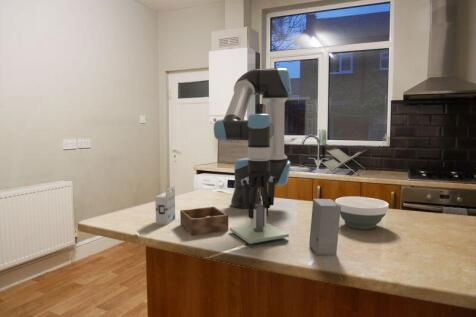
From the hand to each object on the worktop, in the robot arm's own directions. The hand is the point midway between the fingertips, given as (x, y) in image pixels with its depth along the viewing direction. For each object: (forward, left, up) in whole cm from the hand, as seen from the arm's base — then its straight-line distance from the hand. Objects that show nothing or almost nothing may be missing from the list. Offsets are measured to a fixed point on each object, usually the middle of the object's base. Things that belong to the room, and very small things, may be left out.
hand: (258, 226), depth 116 cm
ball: (+11, -20, -3) cm, 23 cm away
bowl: (-43, +5, -4) cm, 44 cm away
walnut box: (+14, -17, -4) cm, 22 cm away
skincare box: (-13, +19, -4) cm, 23 cm away
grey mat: (0, 0, -4) cm, 4 cm away
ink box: (+25, -31, -4) cm, 40 cm away
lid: (0, 0, -3) cm, 3 cm away
